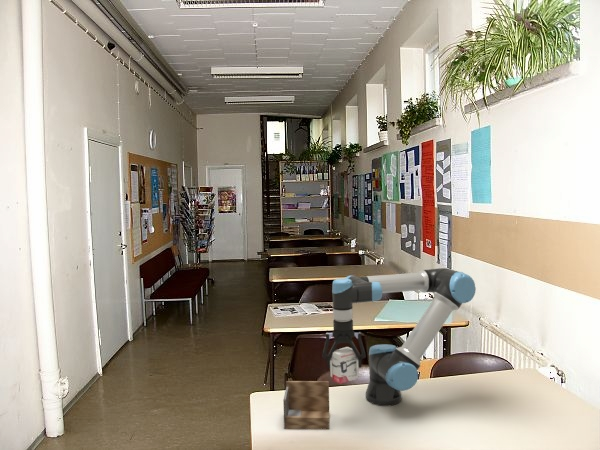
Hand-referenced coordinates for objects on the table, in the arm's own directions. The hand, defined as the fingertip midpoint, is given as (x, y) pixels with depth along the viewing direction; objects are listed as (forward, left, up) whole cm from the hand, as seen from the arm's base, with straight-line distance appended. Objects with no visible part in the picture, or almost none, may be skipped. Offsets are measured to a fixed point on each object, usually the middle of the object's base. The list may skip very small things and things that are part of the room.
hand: (344, 375), depth 197 cm
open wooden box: (+15, +2, -18) cm, 23 cm away
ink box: (0, 0, -2) cm, 2 cm away
